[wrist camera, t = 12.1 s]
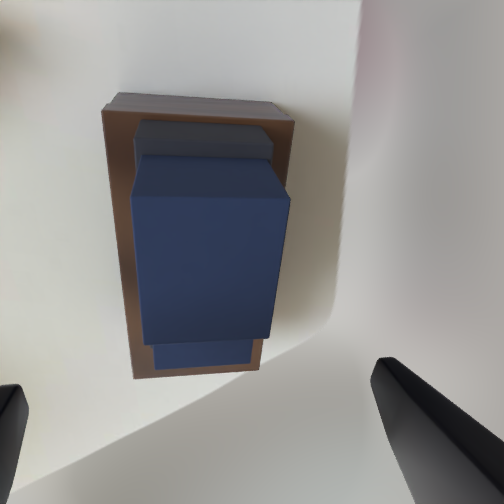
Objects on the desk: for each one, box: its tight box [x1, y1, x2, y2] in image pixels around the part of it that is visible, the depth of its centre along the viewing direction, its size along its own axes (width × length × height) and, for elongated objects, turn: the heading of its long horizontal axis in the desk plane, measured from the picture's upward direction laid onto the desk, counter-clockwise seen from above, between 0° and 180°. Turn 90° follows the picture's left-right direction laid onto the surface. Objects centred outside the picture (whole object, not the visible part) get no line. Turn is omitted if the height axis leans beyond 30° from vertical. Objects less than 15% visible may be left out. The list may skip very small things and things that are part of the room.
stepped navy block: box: [130, 119, 291, 370], centre depth 14 cm, size 9×4×6 cm, turn 175°
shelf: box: [101, 92, 295, 379], centre depth 19 cm, size 14×7×4 cm, turn 175°
